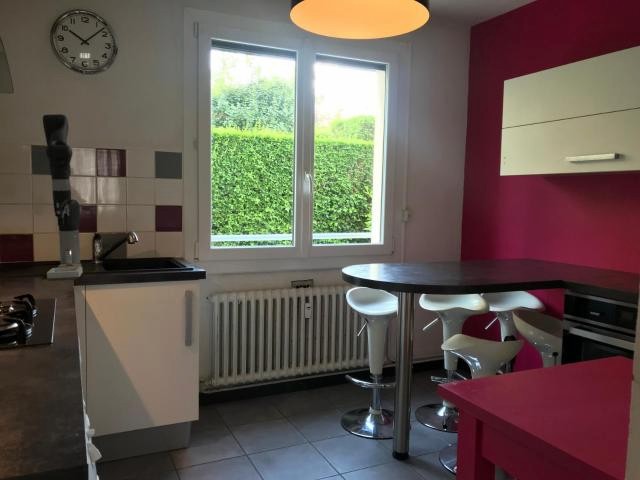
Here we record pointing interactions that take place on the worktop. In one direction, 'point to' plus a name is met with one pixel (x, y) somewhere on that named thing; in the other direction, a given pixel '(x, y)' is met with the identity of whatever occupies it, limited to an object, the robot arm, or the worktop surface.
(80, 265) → the pin block
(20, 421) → the worktop surface
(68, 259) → the pin
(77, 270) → the tray
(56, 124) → the robot arm
